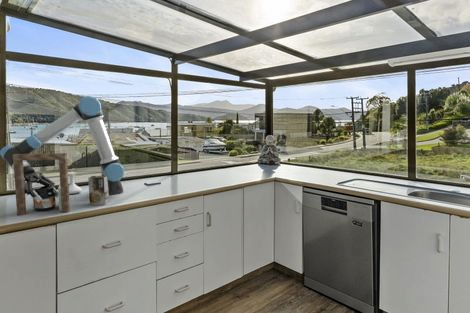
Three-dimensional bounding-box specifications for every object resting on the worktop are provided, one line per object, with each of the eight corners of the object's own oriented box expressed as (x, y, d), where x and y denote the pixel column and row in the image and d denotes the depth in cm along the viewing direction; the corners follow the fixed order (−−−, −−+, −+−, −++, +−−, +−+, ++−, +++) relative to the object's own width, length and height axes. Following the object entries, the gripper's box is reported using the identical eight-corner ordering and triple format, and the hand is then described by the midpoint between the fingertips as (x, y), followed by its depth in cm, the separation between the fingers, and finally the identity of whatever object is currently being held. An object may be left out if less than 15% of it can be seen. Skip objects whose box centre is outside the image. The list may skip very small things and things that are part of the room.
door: (66, 210, 161) (65, 187, 160) (59, 210, 160) (58, 188, 158) (67, 203, 174) (66, 183, 173) (61, 204, 173) (59, 183, 172)
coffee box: (109, 202, 180) (108, 175, 178) (105, 205, 173) (104, 177, 172) (94, 202, 180) (92, 175, 178) (89, 205, 173) (87, 177, 172)
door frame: (69, 210, 162) (66, 153, 158) (68, 212, 159) (64, 153, 156) (19, 213, 156) (15, 154, 153) (17, 215, 153) (12, 154, 150)
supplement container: (48, 211, 160) (46, 189, 158) (28, 211, 160) (27, 189, 159) (60, 206, 170) (59, 185, 169) (41, 206, 170) (40, 185, 169)
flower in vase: (83, 191, 211) (81, 155, 209) (80, 194, 200) (78, 157, 198) (62, 192, 207) (60, 156, 205) (58, 195, 197) (55, 157, 194)
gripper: (38, 171, 178) (62, 197, 177) (-1, 177, 155) (26, 208, 153) (45, 162, 177) (69, 189, 175) (7, 167, 153) (34, 198, 152)
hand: (49, 198), depth 164 cm, fingers open, 12 cm apart
